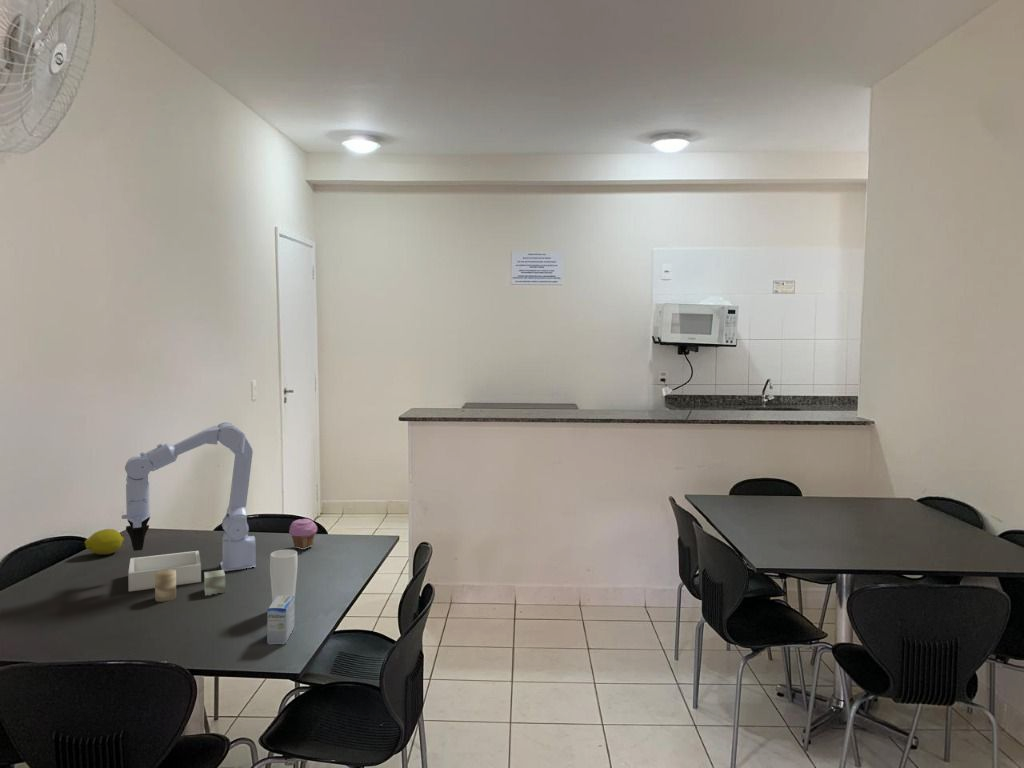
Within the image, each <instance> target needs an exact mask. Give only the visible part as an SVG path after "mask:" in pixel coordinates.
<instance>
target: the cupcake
mask: <svg viewBox="0 0 1024 768" xmlns="http://www.w3.org/2000/svg"><path fill="white" fill-rule="evenodd" d="M288 530H289V531H288V533H289V535H290V536H291V538H292V542H293V546H294V548H295V547H300V548H305V547H308V546H310V545H313V546H314V539H315V535H316V534H317V532H318V526H317V524H316V523H315V522H314V521H312V519H309V518H302V519H300V518H299V519H296V520H293V521H292V522H291V524H290V526H289V529H288Z"/></svg>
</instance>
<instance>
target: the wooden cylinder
mask: <svg viewBox="0 0 1024 768" xmlns="http://www.w3.org/2000/svg"><path fill="white" fill-rule="evenodd" d="M154 598H155V602H158V603H159V602H160V603H162V602H163V603H164V602H170V601H173V600H175V599H176V598H177V585H176V570H173V569H166V570H161V571H158V572H156V573H155V588H154Z"/></svg>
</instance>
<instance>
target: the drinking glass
mask: <svg viewBox="0 0 1024 768" xmlns="http://www.w3.org/2000/svg"><path fill="white" fill-rule="evenodd" d="M269 557H270V558H269V575H270V576H269V577H270V586H271V587H270V588H271V600H272V602H273V601H274V599H275V598H276V596H295V597H296V587H297V576H298V563H299V562H298V559H299V558H298V551H297V550H295V549H278V550H274V551H273V552H271V553H270V555H269Z"/></svg>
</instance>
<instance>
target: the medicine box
mask: <svg viewBox="0 0 1024 768" xmlns="http://www.w3.org/2000/svg"><path fill="white" fill-rule="evenodd" d="M295 604H296V595H295V596H276V598H275V599H274V601H273V600H272V602H271V604H270V605H269V607H268V608H267V615H266V616H267V620H266V621H267V622H266V623H267V625H266V626H267V627H266V630H267V632H266V633H267V635H266V638H267V639H266V643H286V642H287V643H288V641H289V640H288V638H289V636H290V634H291V633H292V634H293V632H292V630H293V628H294V629H295V615H296V614H295V613H296V612H295V611H296V605H295ZM293 631H294V630H293ZM292 634H291V635H292ZM290 637H291V636H290ZM289 639H290V638H289ZM287 640H288V641H287ZM287 643H286V644H287Z"/></svg>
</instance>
